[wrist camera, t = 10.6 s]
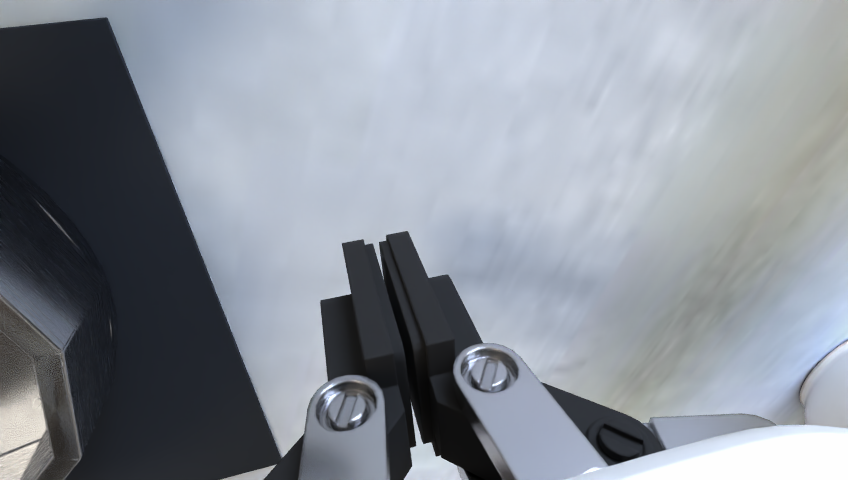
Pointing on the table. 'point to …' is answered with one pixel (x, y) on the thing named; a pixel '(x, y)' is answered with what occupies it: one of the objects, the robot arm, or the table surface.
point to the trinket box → (827, 391)
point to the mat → (131, 261)
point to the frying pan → (49, 334)
